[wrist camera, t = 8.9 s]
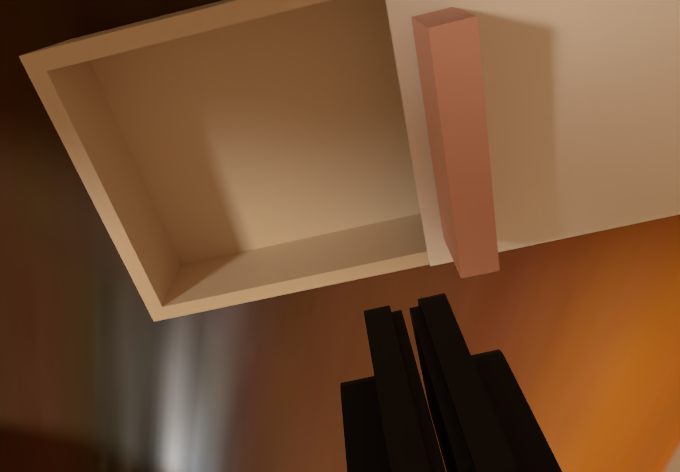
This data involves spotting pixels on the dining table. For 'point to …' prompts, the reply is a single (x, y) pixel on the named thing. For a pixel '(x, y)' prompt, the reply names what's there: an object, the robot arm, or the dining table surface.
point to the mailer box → (241, 148)
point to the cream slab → (537, 119)
